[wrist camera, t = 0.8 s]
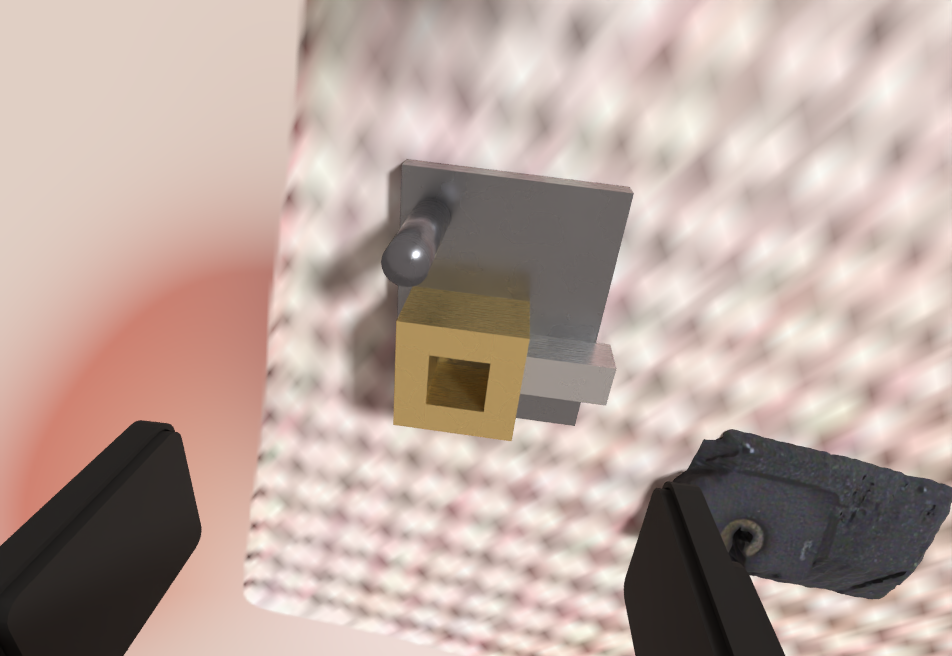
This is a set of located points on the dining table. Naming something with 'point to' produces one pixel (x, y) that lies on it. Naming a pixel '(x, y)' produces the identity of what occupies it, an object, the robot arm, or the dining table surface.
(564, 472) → the dining table surface
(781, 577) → the dark slate chunk
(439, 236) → the grey metal peg
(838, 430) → the dining table surface
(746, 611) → the robot arm
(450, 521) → the dining table surface
